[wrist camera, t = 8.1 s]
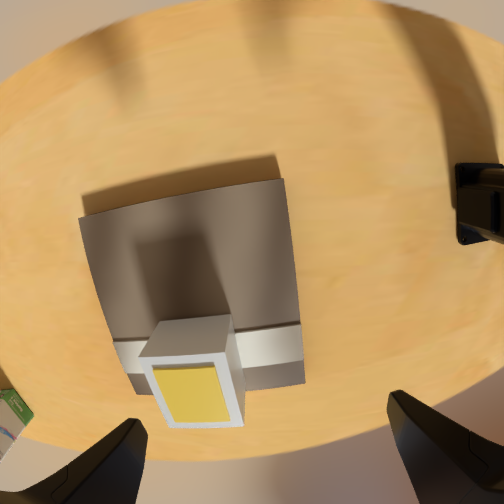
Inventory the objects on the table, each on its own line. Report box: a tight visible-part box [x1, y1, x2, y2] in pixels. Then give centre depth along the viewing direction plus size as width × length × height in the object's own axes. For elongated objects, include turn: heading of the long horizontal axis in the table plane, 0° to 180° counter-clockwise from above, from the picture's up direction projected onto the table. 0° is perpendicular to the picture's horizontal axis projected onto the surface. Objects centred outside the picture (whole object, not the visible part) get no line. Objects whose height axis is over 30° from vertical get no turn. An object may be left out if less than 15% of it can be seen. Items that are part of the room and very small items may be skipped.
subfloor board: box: [78, 178, 305, 395], centre depth 19 cm, size 14×15×1 cm
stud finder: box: [138, 314, 246, 428], centre depth 17 cm, size 5×6×5 cm
